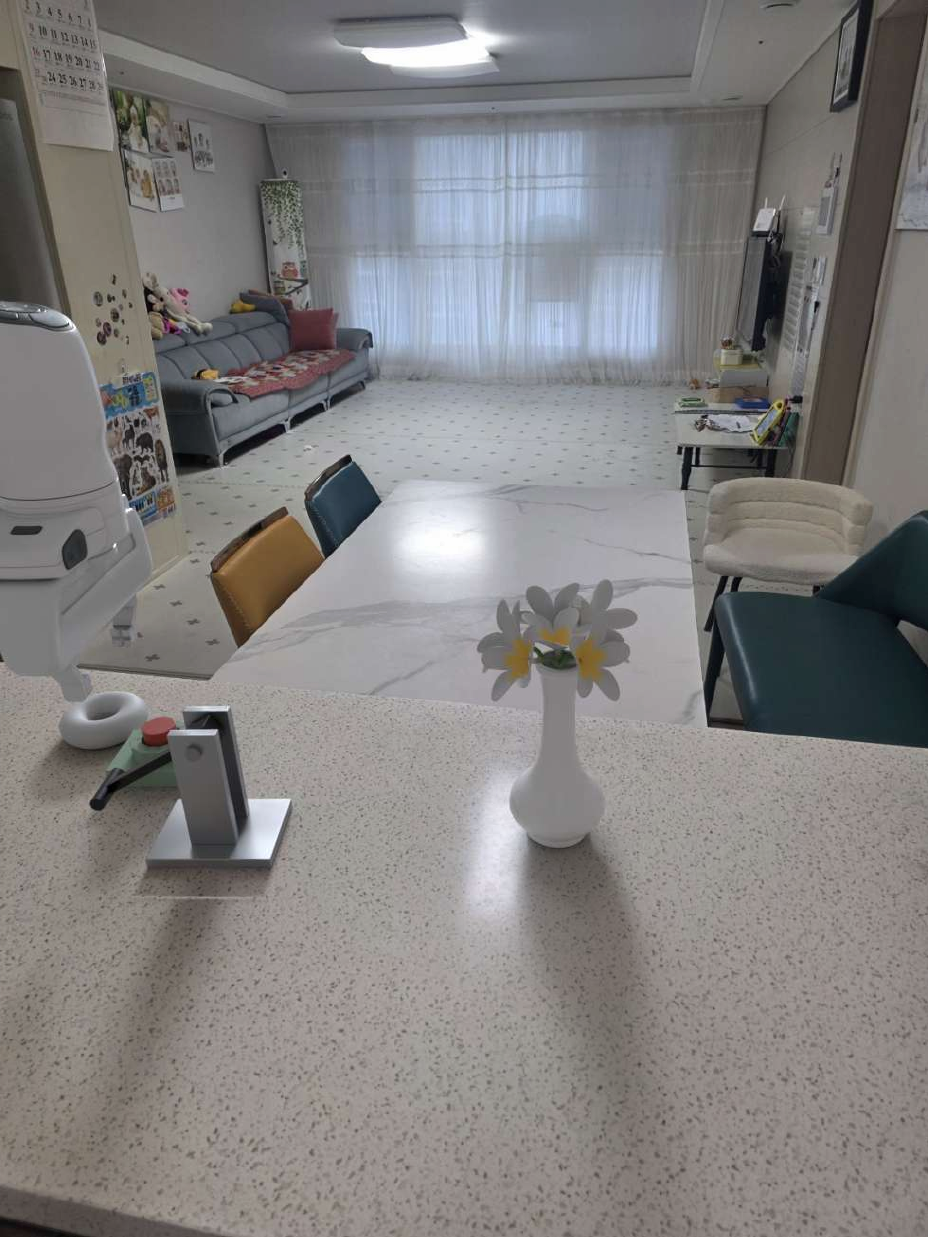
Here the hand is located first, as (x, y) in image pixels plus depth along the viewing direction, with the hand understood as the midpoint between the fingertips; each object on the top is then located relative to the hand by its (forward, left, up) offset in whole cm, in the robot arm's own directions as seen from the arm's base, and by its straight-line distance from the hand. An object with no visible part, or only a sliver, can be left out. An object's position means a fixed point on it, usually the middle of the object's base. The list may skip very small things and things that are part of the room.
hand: (104, 668), depth 72 cm
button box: (-3, +14, -20) cm, 25 cm away
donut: (-13, +21, -20) cm, 32 cm away
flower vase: (+40, +4, -20) cm, 45 cm away
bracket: (+7, +2, -20) cm, 21 cm away
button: (-3, +14, -17) cm, 22 cm away
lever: (+3, +2, -12) cm, 12 cm away
